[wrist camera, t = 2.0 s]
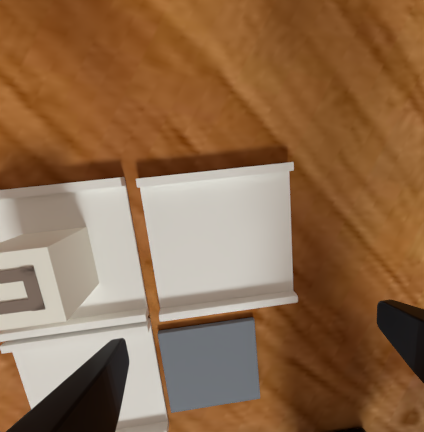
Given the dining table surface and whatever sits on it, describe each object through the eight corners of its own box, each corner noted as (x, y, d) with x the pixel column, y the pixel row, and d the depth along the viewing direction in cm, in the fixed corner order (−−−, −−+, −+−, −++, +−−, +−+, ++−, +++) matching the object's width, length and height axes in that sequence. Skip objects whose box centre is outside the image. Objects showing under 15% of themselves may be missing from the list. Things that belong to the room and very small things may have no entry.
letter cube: (86, 226, 16) (46, 247, 12) (99, 283, 17) (66, 322, 13) (22, 234, 16) (-43, 258, 12) (38, 291, 17) (-17, 333, 13)
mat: (253, 317, 19) (254, 320, 19) (258, 394, 21) (260, 398, 20) (158, 330, 19) (157, 334, 18) (171, 408, 20) (171, 412, 20)
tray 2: (149, 317, 18) (147, 325, 17) (169, 423, 21) (167, 436, 20) (10, 337, 18) (-1, 346, 17) (45, 444, 20) (37, 458, 19)
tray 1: (124, 177, 16) (120, 177, 15) (149, 313, 18) (146, 321, 17) (-37, 194, 16) (-53, 195, 15) (8, 332, 18) (-3, 342, 17)
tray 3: (287, 162, 17) (293, 161, 16) (292, 295, 19) (297, 302, 18) (139, 178, 16) (135, 178, 15) (161, 313, 18) (159, 321, 17)
